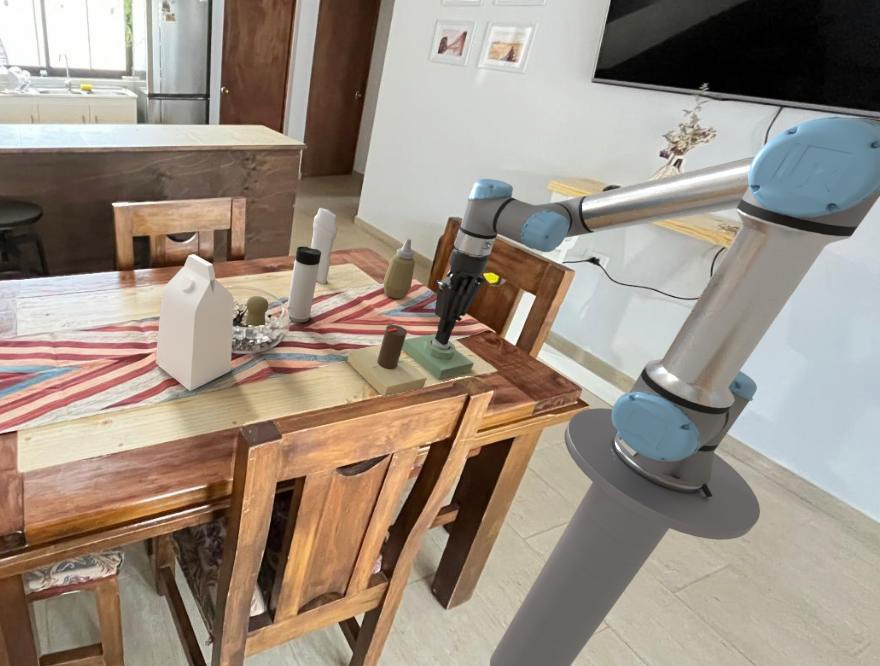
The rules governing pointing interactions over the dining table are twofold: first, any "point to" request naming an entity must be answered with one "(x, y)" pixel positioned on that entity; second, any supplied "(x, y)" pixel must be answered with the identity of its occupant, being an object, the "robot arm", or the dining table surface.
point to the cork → (256, 310)
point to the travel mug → (303, 283)
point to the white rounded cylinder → (324, 240)
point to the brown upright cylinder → (391, 346)
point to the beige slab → (385, 372)
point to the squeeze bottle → (400, 272)
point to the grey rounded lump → (440, 345)
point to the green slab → (437, 357)
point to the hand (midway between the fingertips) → (441, 341)
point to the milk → (195, 325)
